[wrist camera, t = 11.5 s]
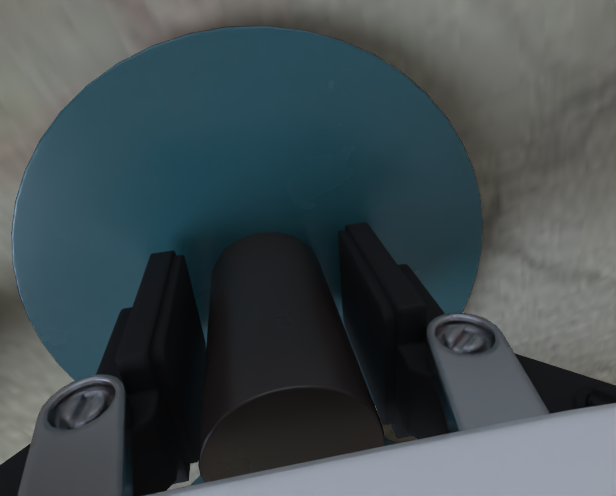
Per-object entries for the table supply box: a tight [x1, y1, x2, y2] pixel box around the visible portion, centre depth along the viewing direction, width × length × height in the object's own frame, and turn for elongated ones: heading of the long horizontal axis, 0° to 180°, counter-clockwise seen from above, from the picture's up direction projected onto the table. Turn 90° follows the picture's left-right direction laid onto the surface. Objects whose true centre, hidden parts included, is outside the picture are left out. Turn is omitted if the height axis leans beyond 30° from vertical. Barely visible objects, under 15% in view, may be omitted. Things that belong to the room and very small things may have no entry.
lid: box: [11, 26, 483, 483], centre depth 10 cm, size 12×12×7 cm
